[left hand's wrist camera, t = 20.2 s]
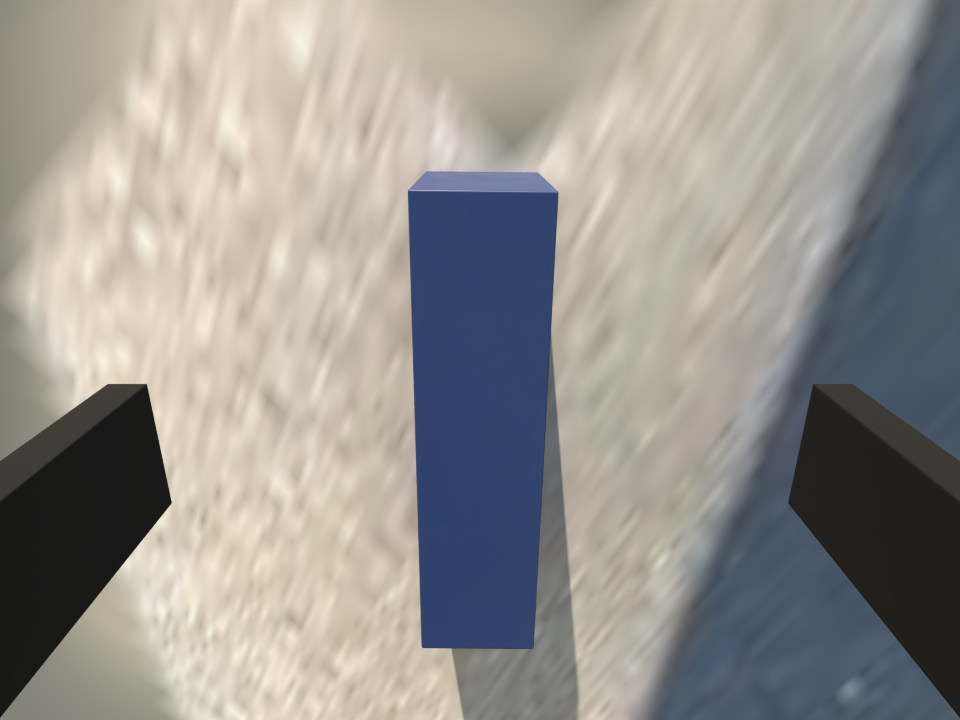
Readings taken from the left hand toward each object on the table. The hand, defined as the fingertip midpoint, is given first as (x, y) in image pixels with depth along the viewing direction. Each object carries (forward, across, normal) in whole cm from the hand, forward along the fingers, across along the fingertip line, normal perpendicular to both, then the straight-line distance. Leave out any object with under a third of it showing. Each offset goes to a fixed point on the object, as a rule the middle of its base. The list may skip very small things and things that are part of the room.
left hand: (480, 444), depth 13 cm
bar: (+22, 0, -8) cm, 23 cm away
